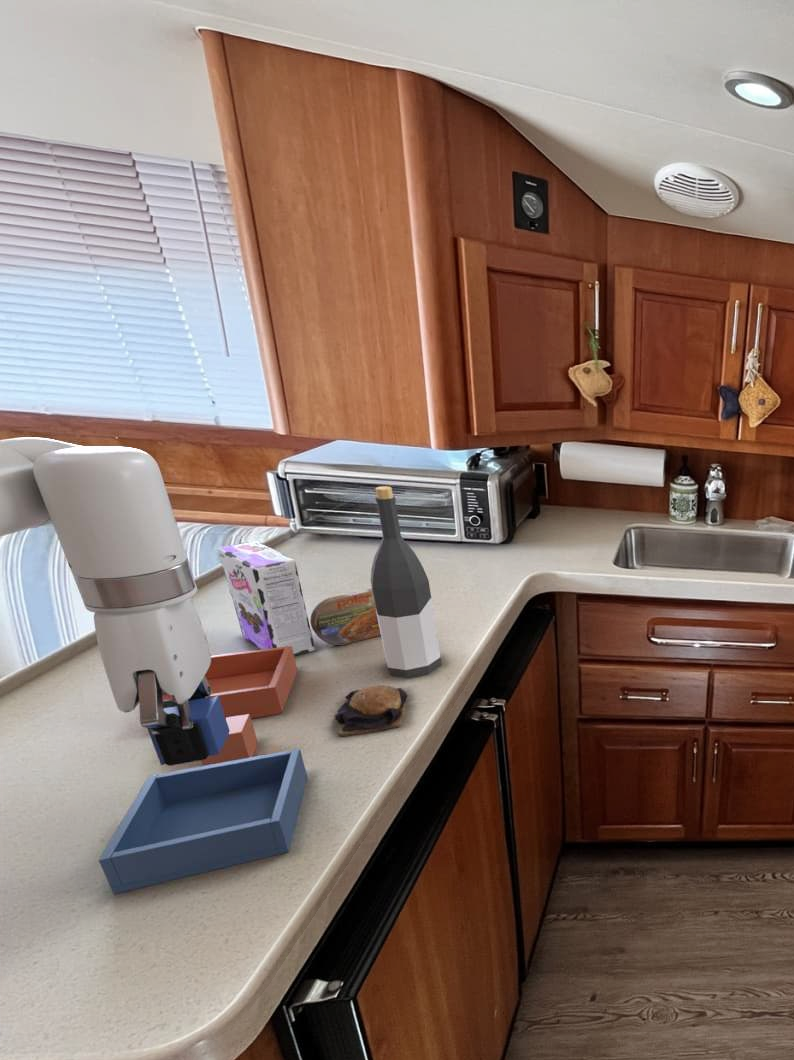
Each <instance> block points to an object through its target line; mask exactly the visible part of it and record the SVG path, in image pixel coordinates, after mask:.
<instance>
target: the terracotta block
mask: <svg viewBox="0 0 794 1060" xmlns="http://www.w3.org/2000/svg"><path fill="white" fill-rule="evenodd" d="M226 721H227V724H228V727H229V730H230V732H229V734H228V736H227V739H226V741H225V743H224V745H223V747H222V749H221V751H220V754H218V755H213V756H208V757H207V758H206V759H204V760H200V761H201V764H202V766H206V765H211V764H217V763H222V762H228V761H233V760H239V759H244V758H250V757H254V754H255V751H256V748H257V746H258V744H259V741H258V738H257V734H256V730H255V727H254V724H253V720H252V718H251V717H250V714H246V715H239V716H233V717H227V718H226Z"/></svg>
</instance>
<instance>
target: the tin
mask: <svg viewBox="0 0 794 1060" xmlns="http://www.w3.org/2000/svg"><path fill="white" fill-rule="evenodd" d="M310 628H311V630H312V631H313V632H314V633H315V635H316V636H317V637H318V638H319V639H320V640H321V641H323V642H325V643H327V644H330V645H333V646H347V645H350V644H353V643H357V642H361V641H364V640H367V639H371V638H376V637H378V636H381V633H380V628H379V622H378V617H377V612H376V607H375V602H374V597H373V591H372V587H371V588H367V589H362V590H358V591H354V592H348V593H345V594H340V595H337V596H336V595H335V596H332V597H327V598H325V599H323V600H322V601H320V602H319V603H318V604H317V605H316V606H315V607H314V608H313V610H312V611H311V614H310Z"/></svg>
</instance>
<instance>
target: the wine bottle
mask: <svg viewBox="0 0 794 1060" xmlns="http://www.w3.org/2000/svg"><path fill="white" fill-rule="evenodd" d="M375 493H376V496H374V499H375V502H376V505H377V511H378V517H379V522H380V528H381V533H382V538H381V541H380V544H379V545H378V547H377V550H376V552H375V554H374V557H373V561H372V565H371V568H370V569H371V570H370V586H371V588H372V591H373V597H374V602H375V607H376V612H377V617H378V622H379V628H380V633H381V635H380V637H381V642H382V649H383V652H384V658H385V663H386V666H387V670H388V673H389V675H390V676H391V677H396V678H403V679H410V678H411V679H412V678H415V677H420V676H425V675H429V674H431V673H432V672H434V671H435V670H436V669H439V668H440V667H441V666H442V656H441V651H440V644H439V638H438V632H437V625H436V624H437V623H436V619H435V612H434V607H433V600H432V595H431V586H430V580H429V578H428V575H427V573H426V571H425V569H424V567H423V565H422V562H421V561H420V559H419V558H418V555H417V554H416V553H415V551H414V550H413V549H412V548H411V546H410V545H409V544H408V543H407V542H406V540H405V539H404V537H402V534H401V533H402V532H401V528H400V523H399V522H400V521H399V516H398V515H399V514H398V509H397V503H396V502H397V500H396V496H395V495H394V494H393V493H394V492H393V488H392V487H391V486H387V485H385V486H383V485H382V486H377V487H375Z"/></svg>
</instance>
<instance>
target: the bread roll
mask: <svg viewBox="0 0 794 1060" xmlns="http://www.w3.org/2000/svg"><path fill="white" fill-rule="evenodd" d="M344 698H345V699H344V703H343V704H342V705H341V706H340V708H339V709H338V710H337V713H336V714H335V715H334V717H335V721H336V722H337V723H338V733H337V734H338V737H349V736H354V735H365V734H367V733H370V732H375V733H376V732H377V733H378V732H381V731H384V730H385V731H386V730H388V729H395V728H399V727H401V726H402V724H403V722H404V718H405V717H404V716H405V715H406V713H405V712H406V708H407V700H408V694H407V693H406V689H405V688H403V687H396V688H395V687H394V686H391V685H386V684H374V685H366V686H364V687H362V688H360V689H356V690H352V691H350V692H349V693H348V694H346V696H344Z"/></svg>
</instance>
